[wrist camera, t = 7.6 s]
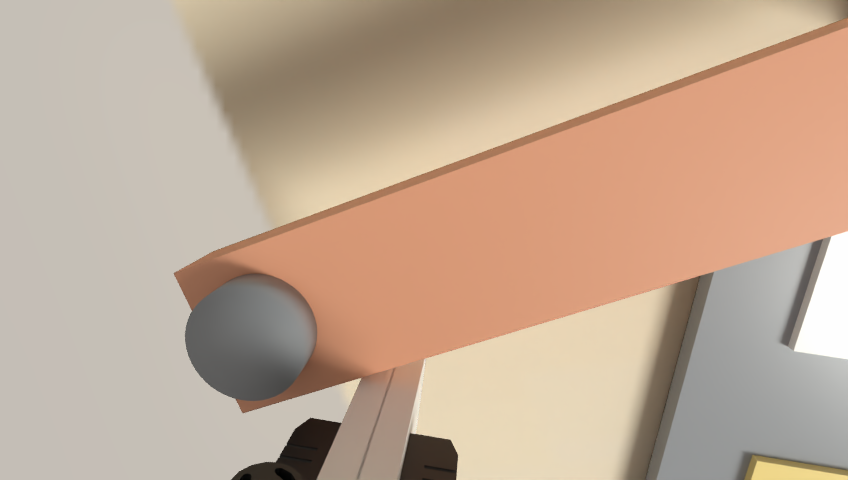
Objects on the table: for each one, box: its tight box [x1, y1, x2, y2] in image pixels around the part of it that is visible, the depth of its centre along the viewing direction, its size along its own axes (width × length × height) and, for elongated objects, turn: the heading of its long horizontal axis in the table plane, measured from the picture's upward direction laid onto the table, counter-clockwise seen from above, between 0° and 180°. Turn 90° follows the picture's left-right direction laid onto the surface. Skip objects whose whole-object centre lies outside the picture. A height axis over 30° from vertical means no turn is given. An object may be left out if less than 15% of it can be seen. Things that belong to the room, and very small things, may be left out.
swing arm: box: [174, 18, 848, 413], centre depth 15 cm, size 26×4×10 cm, turn 111°
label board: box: [645, 231, 848, 480], centre depth 22 cm, size 24×12×1 cm, turn 173°
